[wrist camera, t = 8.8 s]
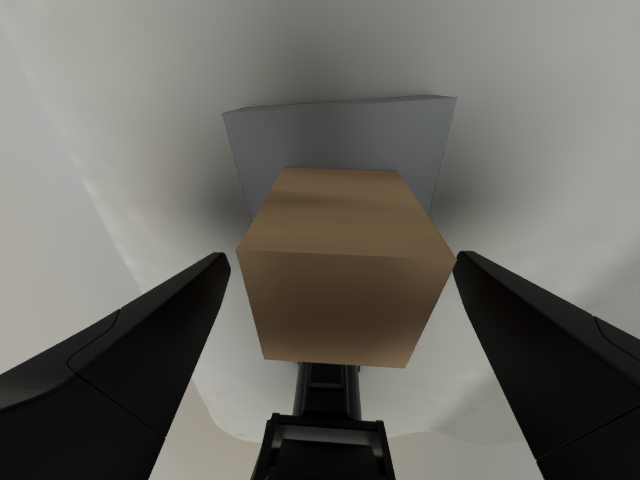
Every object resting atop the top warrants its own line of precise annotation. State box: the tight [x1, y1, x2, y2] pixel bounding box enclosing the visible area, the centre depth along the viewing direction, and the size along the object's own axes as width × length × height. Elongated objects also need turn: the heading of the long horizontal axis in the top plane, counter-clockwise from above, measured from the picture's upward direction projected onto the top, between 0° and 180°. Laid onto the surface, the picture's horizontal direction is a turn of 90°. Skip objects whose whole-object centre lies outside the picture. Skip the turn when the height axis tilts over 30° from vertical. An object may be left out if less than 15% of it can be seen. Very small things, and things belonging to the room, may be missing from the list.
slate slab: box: [222, 95, 456, 222], centre depth 13 cm, size 10×9×3 cm
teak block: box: [236, 167, 457, 368], centre depth 9 cm, size 5×5×6 cm
